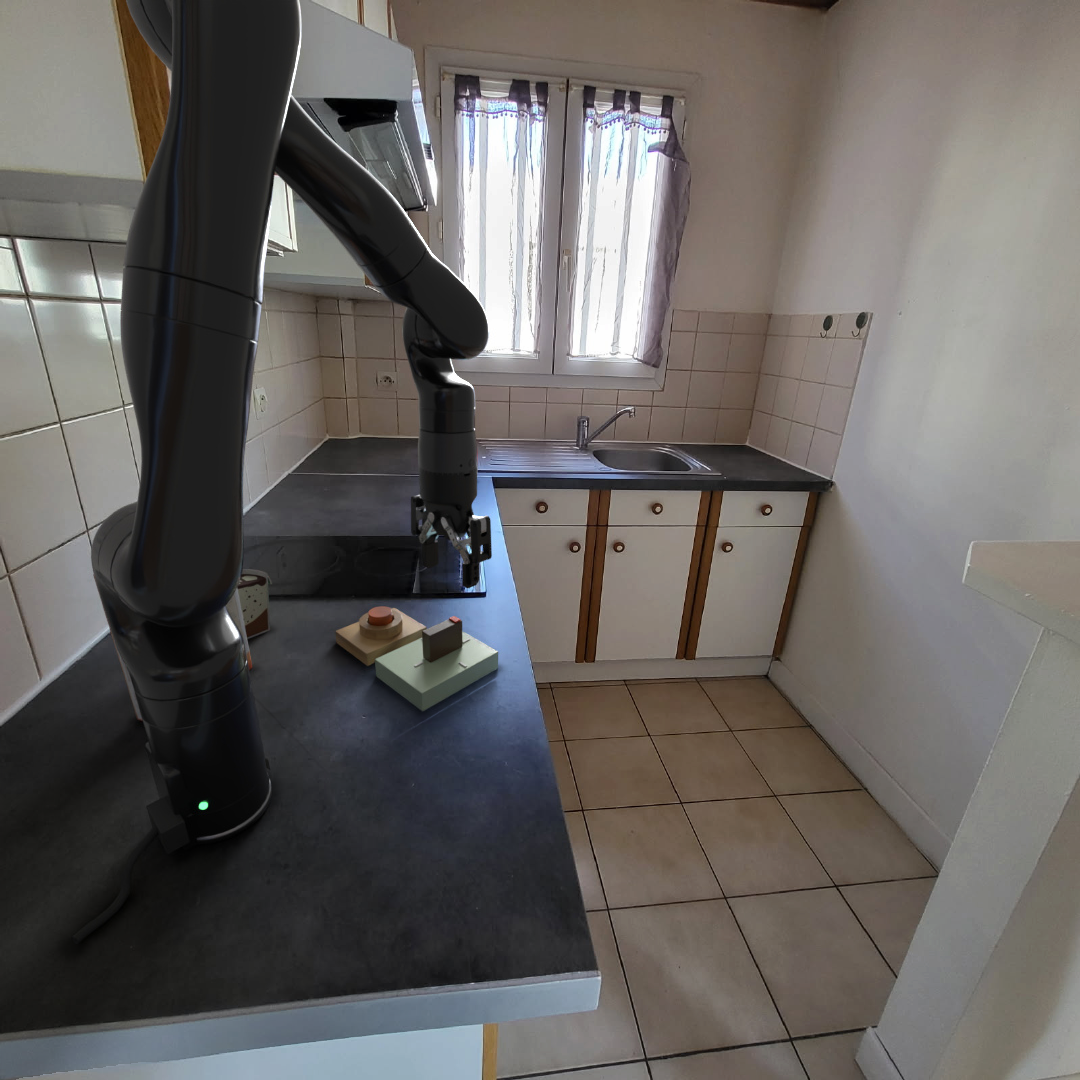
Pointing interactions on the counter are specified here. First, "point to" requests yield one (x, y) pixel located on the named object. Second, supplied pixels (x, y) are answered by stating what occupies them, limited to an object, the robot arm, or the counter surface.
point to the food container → (254, 601)
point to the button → (380, 616)
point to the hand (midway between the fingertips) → (450, 575)
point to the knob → (442, 639)
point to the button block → (378, 636)
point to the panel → (435, 670)
